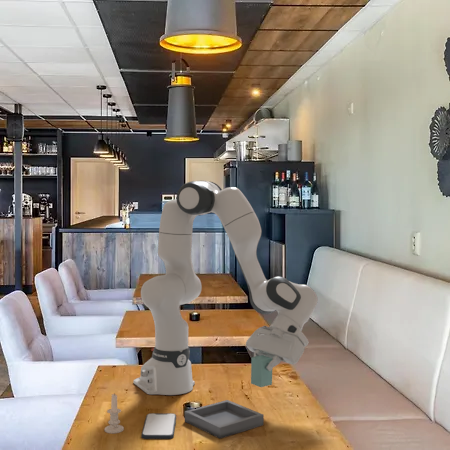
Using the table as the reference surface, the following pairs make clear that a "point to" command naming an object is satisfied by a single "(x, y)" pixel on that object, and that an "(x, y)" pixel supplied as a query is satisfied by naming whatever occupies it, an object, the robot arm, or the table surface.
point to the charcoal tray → (224, 418)
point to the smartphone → (159, 426)
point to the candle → (114, 417)
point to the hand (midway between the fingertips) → (260, 367)
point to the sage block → (260, 371)
